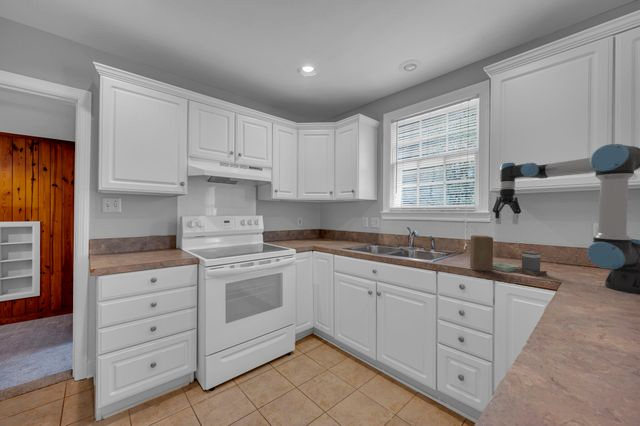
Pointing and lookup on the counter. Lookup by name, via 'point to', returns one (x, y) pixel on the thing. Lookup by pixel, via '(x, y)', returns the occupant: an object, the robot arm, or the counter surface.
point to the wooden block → (481, 253)
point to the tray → (504, 267)
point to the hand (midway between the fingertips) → (506, 224)
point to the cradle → (530, 272)
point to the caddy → (531, 261)
